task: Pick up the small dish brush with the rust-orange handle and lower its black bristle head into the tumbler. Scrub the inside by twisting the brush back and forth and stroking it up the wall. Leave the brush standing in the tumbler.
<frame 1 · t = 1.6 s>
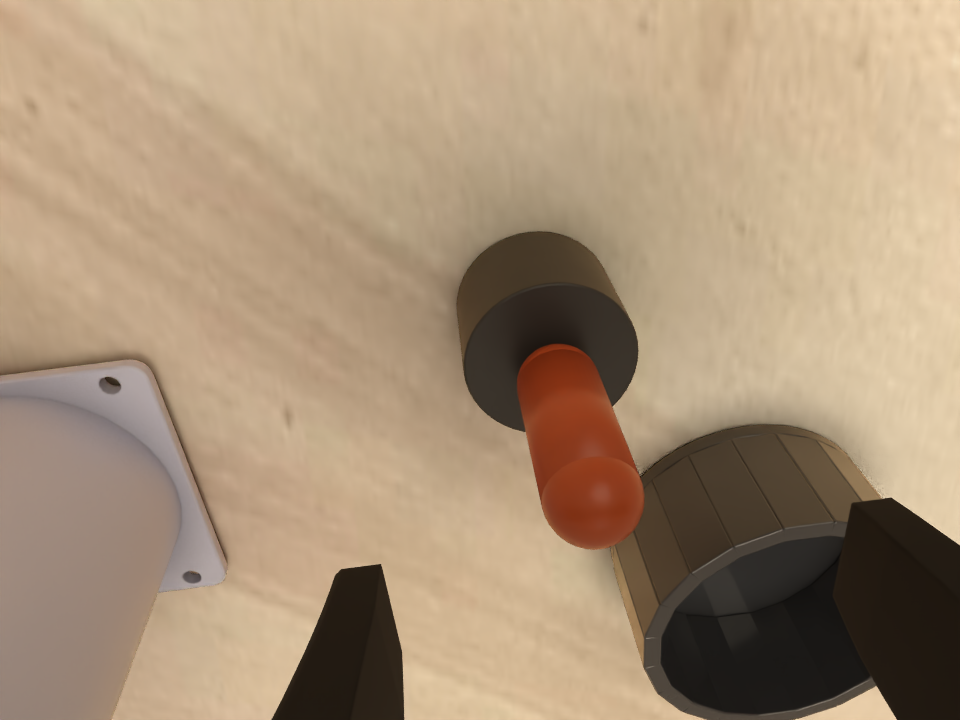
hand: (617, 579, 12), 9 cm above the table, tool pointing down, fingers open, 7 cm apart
brush: (533, 303, 20), on the table
tumbler: (735, 526, 25), on the table
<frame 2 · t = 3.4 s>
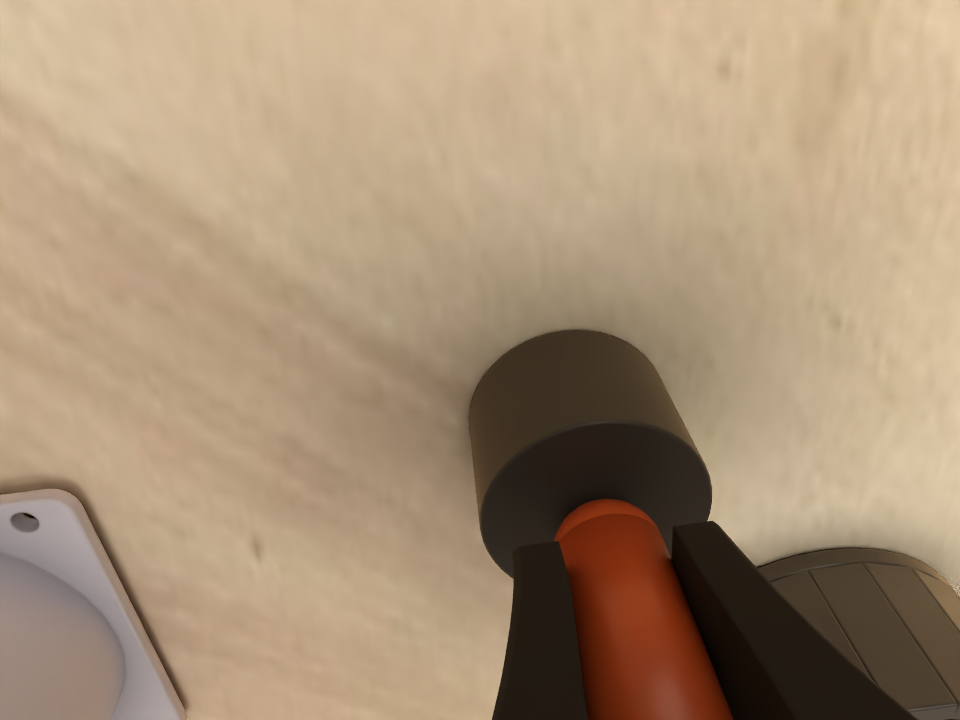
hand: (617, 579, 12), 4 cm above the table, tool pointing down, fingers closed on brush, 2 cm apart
brush: (566, 414, 15), on the table, touching gripper
tumbler: (803, 659, 20), on the table
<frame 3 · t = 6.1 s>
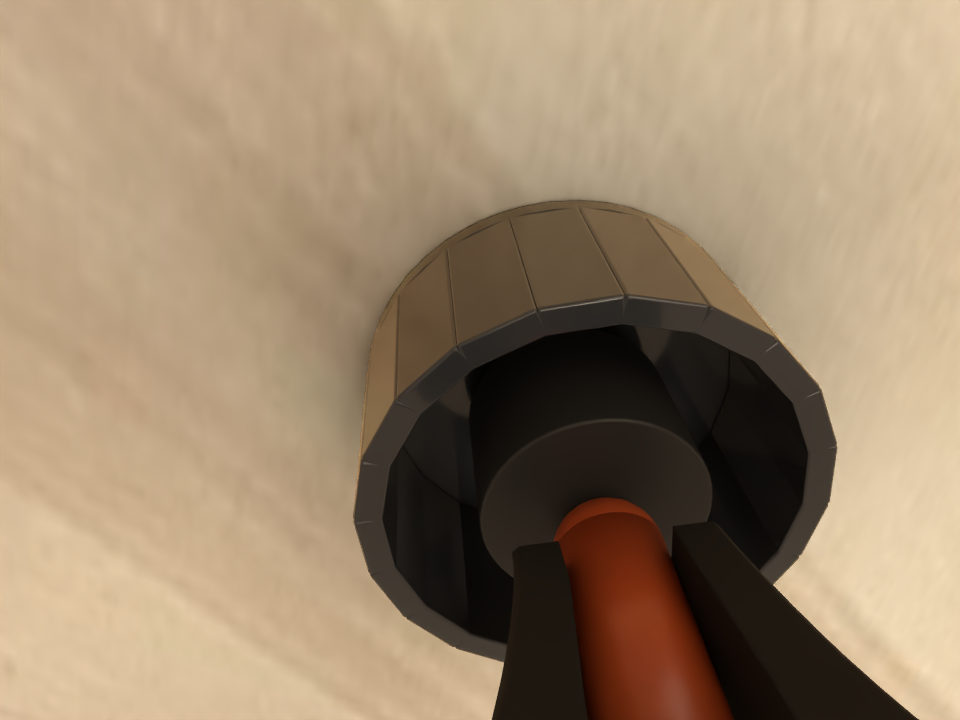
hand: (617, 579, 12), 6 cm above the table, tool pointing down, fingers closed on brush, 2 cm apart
brush: (566, 413, 15), point 1 cm above the table, touching gripper
tumbler: (557, 380, 17), on the table
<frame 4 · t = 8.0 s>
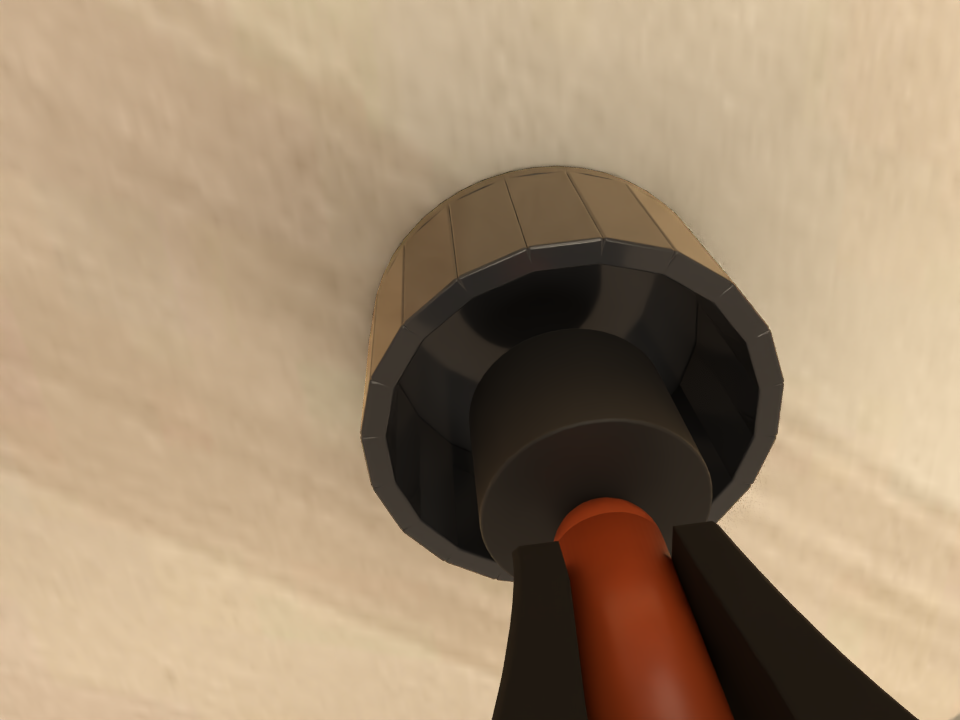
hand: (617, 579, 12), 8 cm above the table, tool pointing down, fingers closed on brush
brush: (566, 413, 15), point 3 cm above the table, touching gripper
tumbler: (542, 332, 18), on the table
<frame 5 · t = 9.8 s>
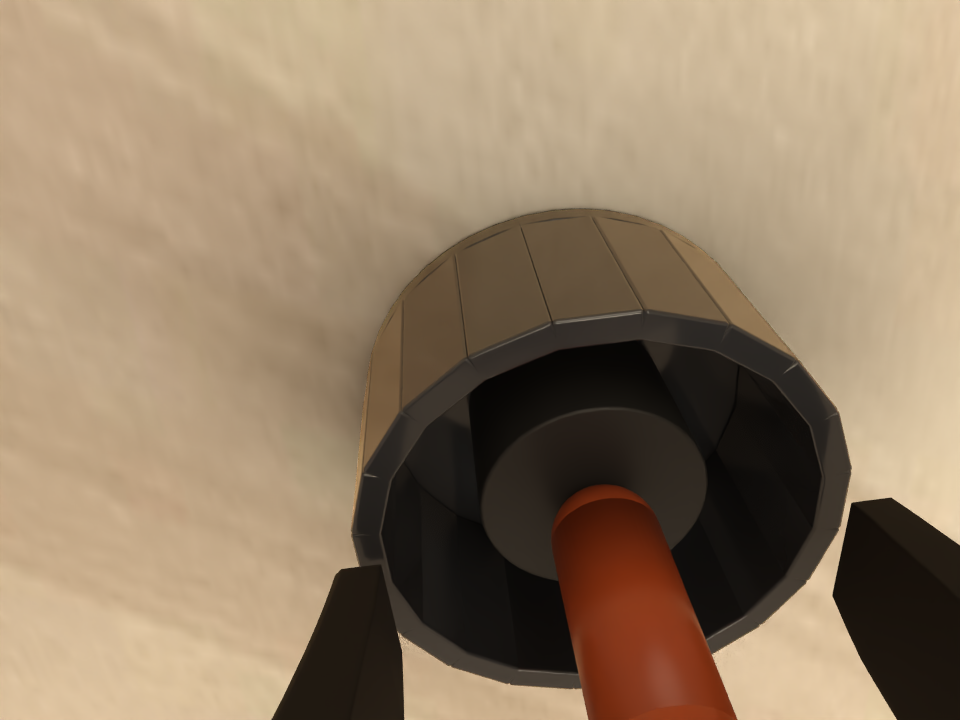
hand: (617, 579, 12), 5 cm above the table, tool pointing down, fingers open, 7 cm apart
brush: (565, 404, 16), resting on tumbler
tumbler: (561, 392, 16), on the table
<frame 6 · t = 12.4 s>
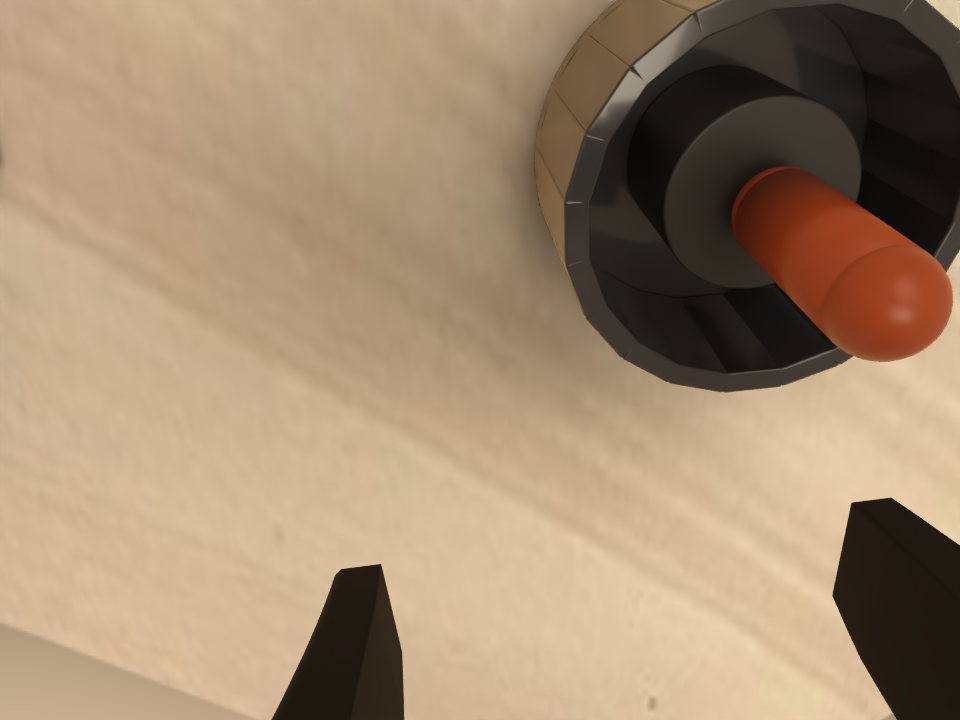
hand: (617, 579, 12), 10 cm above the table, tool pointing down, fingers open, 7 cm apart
brush: (711, 155, 18), resting on tumbler
tumbler: (704, 151, 18), on the table
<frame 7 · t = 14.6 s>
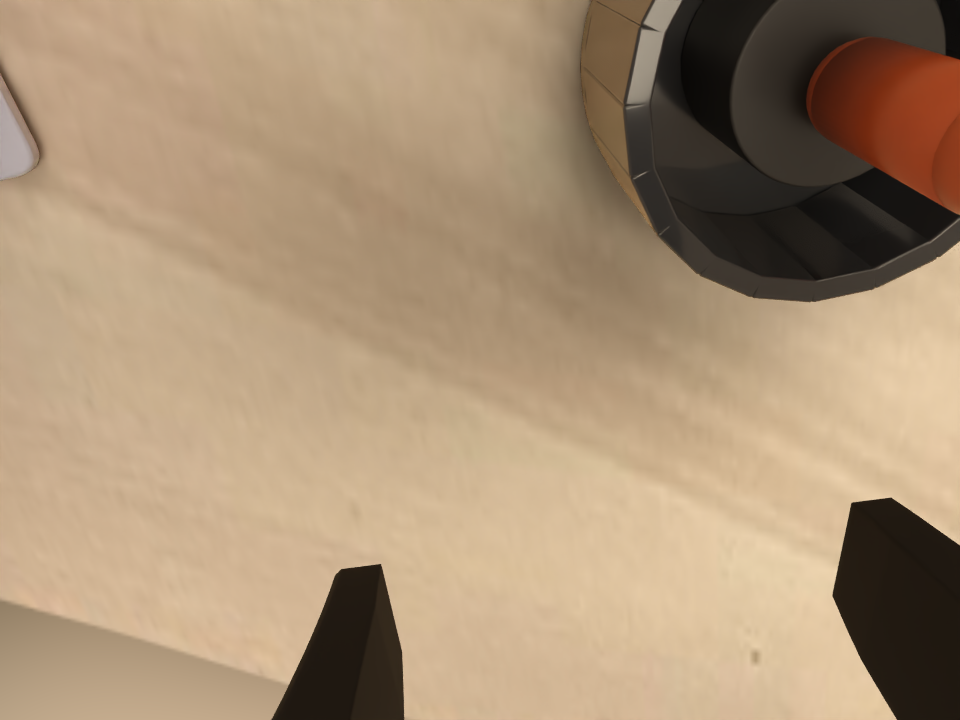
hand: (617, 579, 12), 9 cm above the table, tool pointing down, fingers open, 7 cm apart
brush: (771, 54, 16), resting on tumbler
tumbler: (762, 51, 17), on the table
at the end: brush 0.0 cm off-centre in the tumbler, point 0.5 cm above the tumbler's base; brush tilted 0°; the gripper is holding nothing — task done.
